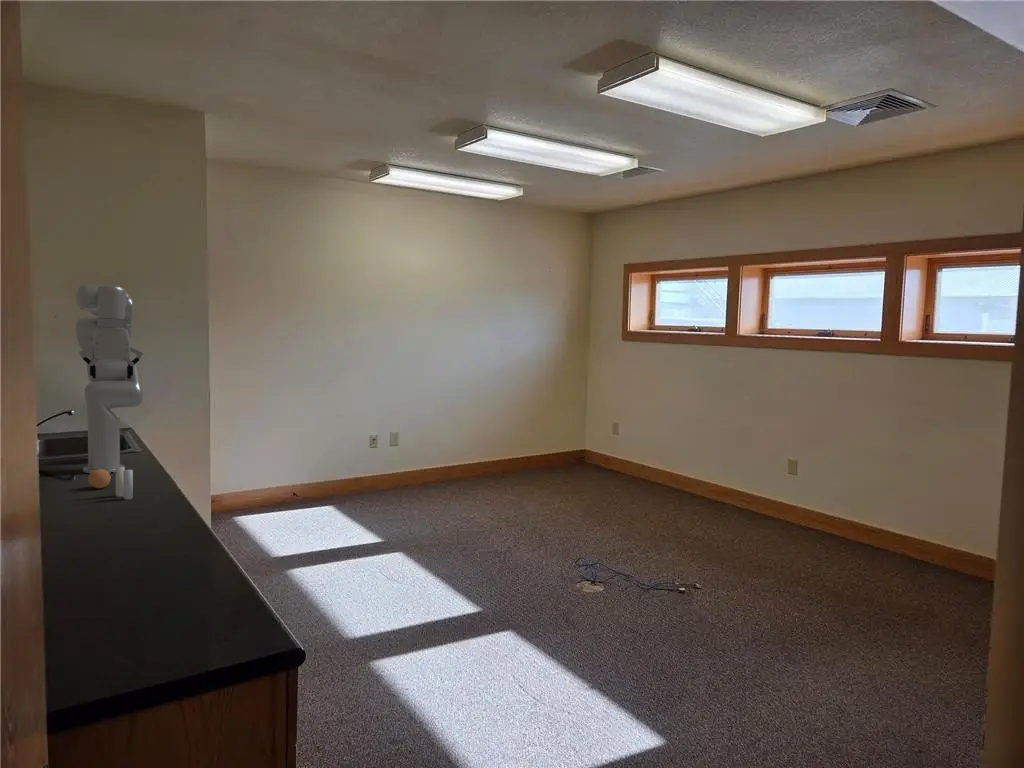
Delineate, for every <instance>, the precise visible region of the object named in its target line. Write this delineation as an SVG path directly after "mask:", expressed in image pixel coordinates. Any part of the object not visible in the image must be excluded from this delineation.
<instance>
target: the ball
mask: <svg viewBox="0 0 1024 768" xmlns="http://www.w3.org/2000/svg"><path fill="white" fill-rule="evenodd" d="M87 479H88V480H87V481H88V483H89V485H90V486H91V487H92V488H95V489H102V488H105V487H107V486H108V485H109V484H110V482H111V479H112V478H111V473H109V472H108V471H106V470H104V469H97V470H94V471H93V472H91V473H89V475H88V478H87Z"/></svg>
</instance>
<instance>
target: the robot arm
mask: <svg viewBox="0 0 1024 768" xmlns="http://www.w3.org/2000/svg"><path fill="white" fill-rule="evenodd" d="M75 299H76V304H77V307H78V308H79V309H80V310H82V311H87V312H90V313H91V314H92V316H91V315H90V316H84V317H81V318H79V319H78V320H77V321H76V324H75V334H76V335H75V336H76V339H77V342H78V345H79V346H80V348H81V350H80V351H79V355H80V356H81V358H82V360H83V361H84V362H85V363H86V371H87V377H88V379H89V383H88V384H87V385H86V386H85V388H84V399H85V404H86V410H87V412H86V414H87V455H88V456H87V458H88V459H87V463H88V465H87V466H84V467H83V468H82V472H83V473H86V474H91V472H93V471H94V470H97V469H104V470H106V471H108V472H109V474H111V472H113V473H116V468H117V467H125V465H124V464H121V460H120V459H121V437H120V435H121V429H120V428H121V426H120V425H121V424H120V417H119V418H118V417H117V416H118V415H117V414H116V413H115V412H114V411H112V409H118V408H135V407H136V408H137V407H139V406H140V405H141V404H142V402H143V399H144V392H143V386H142V379H141V373H140V370H139V365H138V364H137V363H138V362H139V361H140V360H141V358H142V356H143V354H144V353H143V351H140V350H137V349H135V348H133V347H131V342H130V337H131V336H132V332H133V324H134V316H135V303H134V300H133V299H132V297H131V296H130V295H129V293H128V292H127V290H126V289H125V288H124V287H122V286H119V285H110V284H109V285H107V284H105V285H104V284H103V285H100V284H99V285H98V284H81V285H79V287H78V288H77V290H76V295H75ZM131 353H133V354H135V355H136V356H135V358H134V359H130V358H131ZM125 468H126V467H125Z"/></svg>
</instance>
